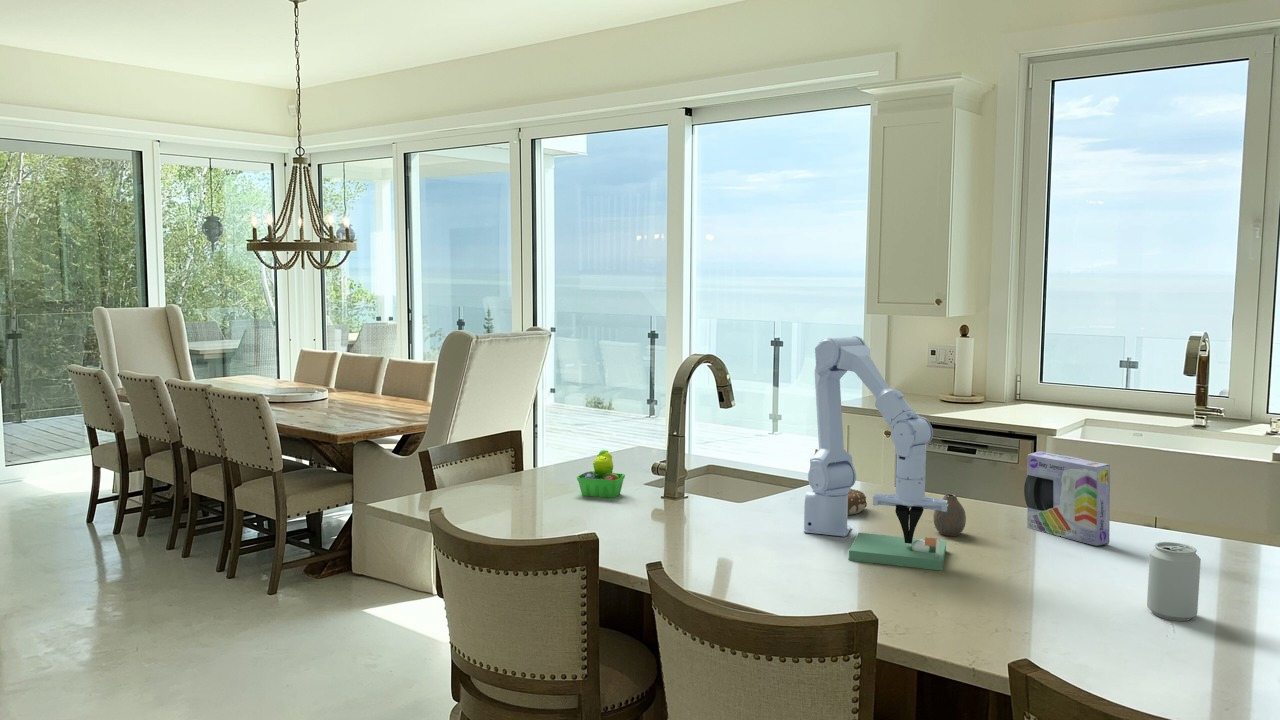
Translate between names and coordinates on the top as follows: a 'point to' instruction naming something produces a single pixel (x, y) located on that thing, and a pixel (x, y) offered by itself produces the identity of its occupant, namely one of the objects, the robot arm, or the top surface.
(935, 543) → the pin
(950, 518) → the vase
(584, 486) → the fruit basket
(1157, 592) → the can
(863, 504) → the donut
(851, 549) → the board
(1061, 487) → the cake pan box
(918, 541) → the ball
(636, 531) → the top surface
